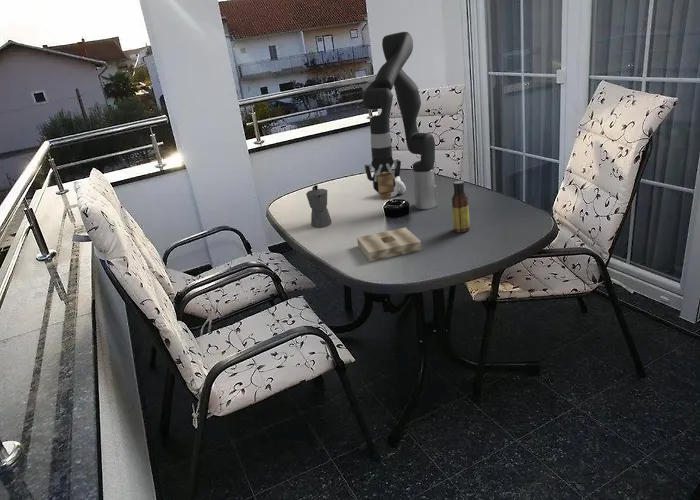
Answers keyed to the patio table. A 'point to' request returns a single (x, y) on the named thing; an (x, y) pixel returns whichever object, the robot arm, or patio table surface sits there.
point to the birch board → (388, 244)
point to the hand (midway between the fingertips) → (384, 189)
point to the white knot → (398, 187)
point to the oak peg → (385, 185)
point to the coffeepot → (318, 207)
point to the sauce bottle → (460, 208)
